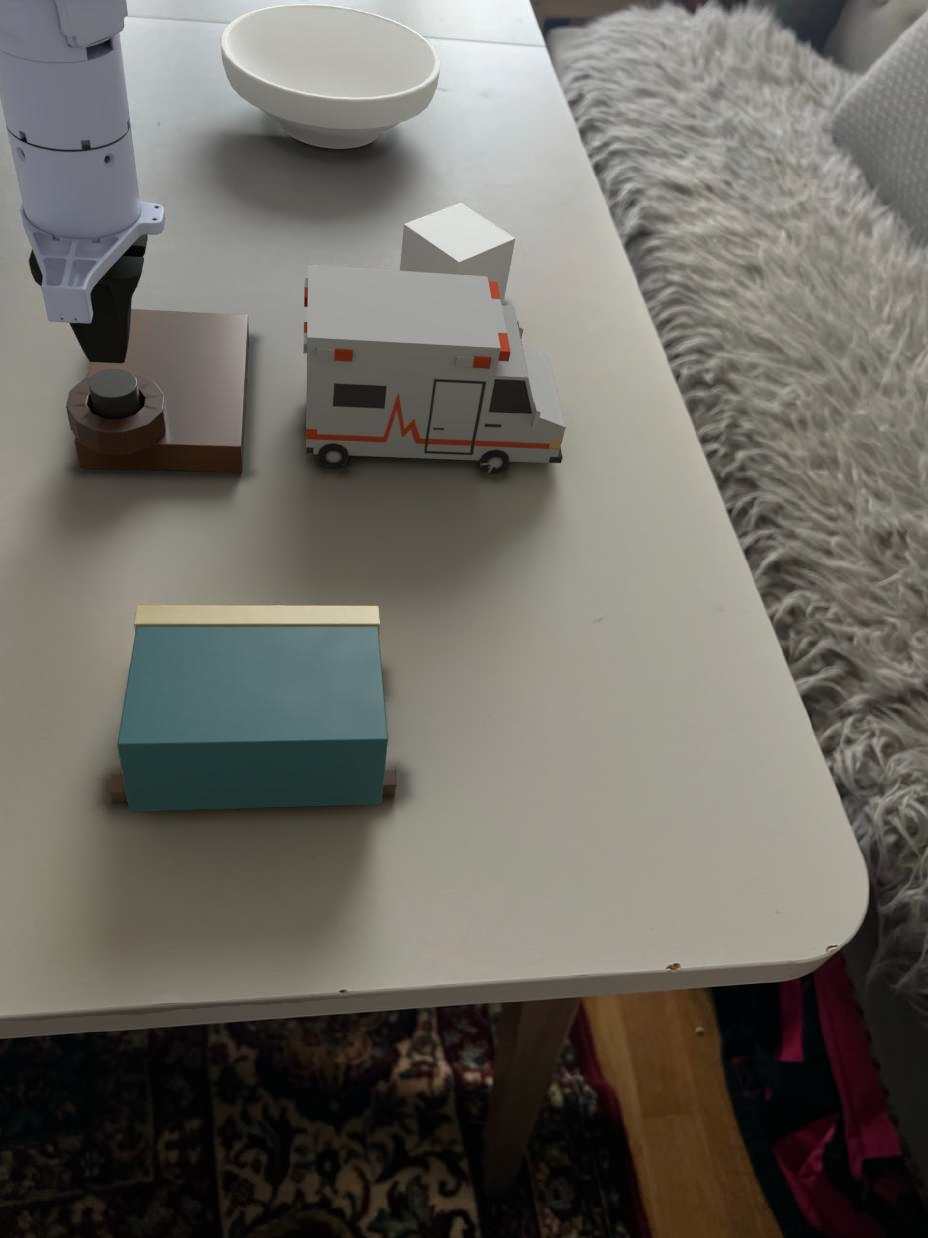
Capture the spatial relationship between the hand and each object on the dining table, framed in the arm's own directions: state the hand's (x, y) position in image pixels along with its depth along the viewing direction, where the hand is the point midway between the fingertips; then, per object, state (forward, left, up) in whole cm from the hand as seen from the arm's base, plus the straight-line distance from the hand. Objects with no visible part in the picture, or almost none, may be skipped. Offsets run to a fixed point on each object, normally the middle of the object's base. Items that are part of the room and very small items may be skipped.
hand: (107, 355), depth 59 cm
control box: (+3, +5, -7) cm, 9 cm away
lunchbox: (+9, -26, -4) cm, 28 cm away
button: (0, 0, -4) cm, 4 cm away
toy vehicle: (+20, +3, -8) cm, 22 cm away
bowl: (+14, +46, -8) cm, 48 cm away
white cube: (+23, +19, -8) cm, 31 cm away
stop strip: (+9, -25, -7) cm, 27 cm away
